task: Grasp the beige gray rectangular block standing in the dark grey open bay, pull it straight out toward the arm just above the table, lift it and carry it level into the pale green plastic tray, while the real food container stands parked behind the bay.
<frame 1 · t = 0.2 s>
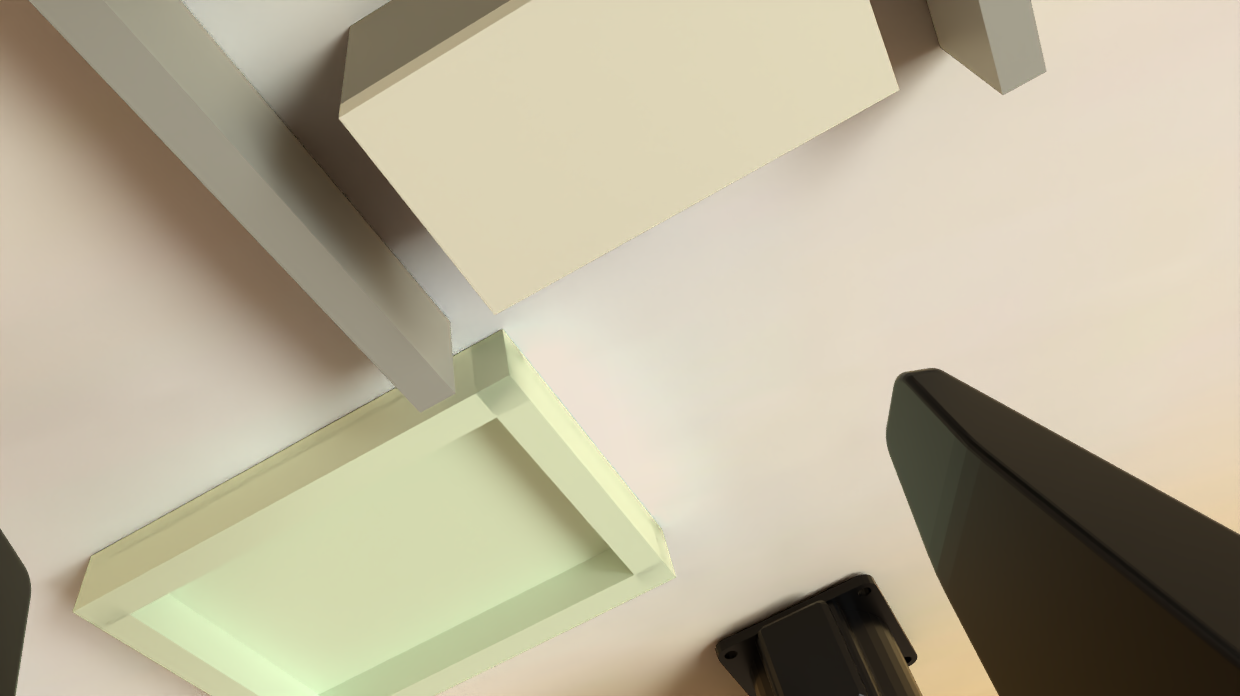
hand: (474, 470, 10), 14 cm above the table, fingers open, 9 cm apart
bay: (590, 18, 21), on the table
beige gray rectangular block: (588, 15, 21), on the table
tray: (395, 542, 29), on the table
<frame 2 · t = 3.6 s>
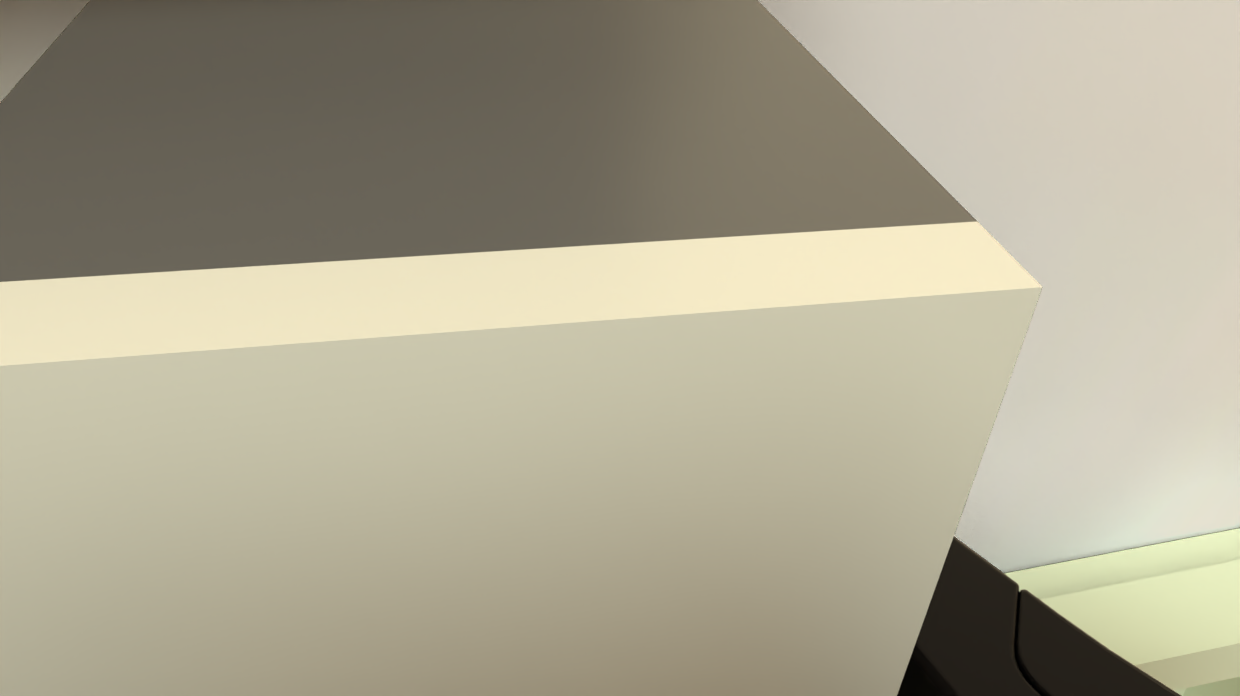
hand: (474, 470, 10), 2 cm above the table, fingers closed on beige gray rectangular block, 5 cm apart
beige gray rectangular block: (468, 403, 10), point 1 cm above the table, touching gripper
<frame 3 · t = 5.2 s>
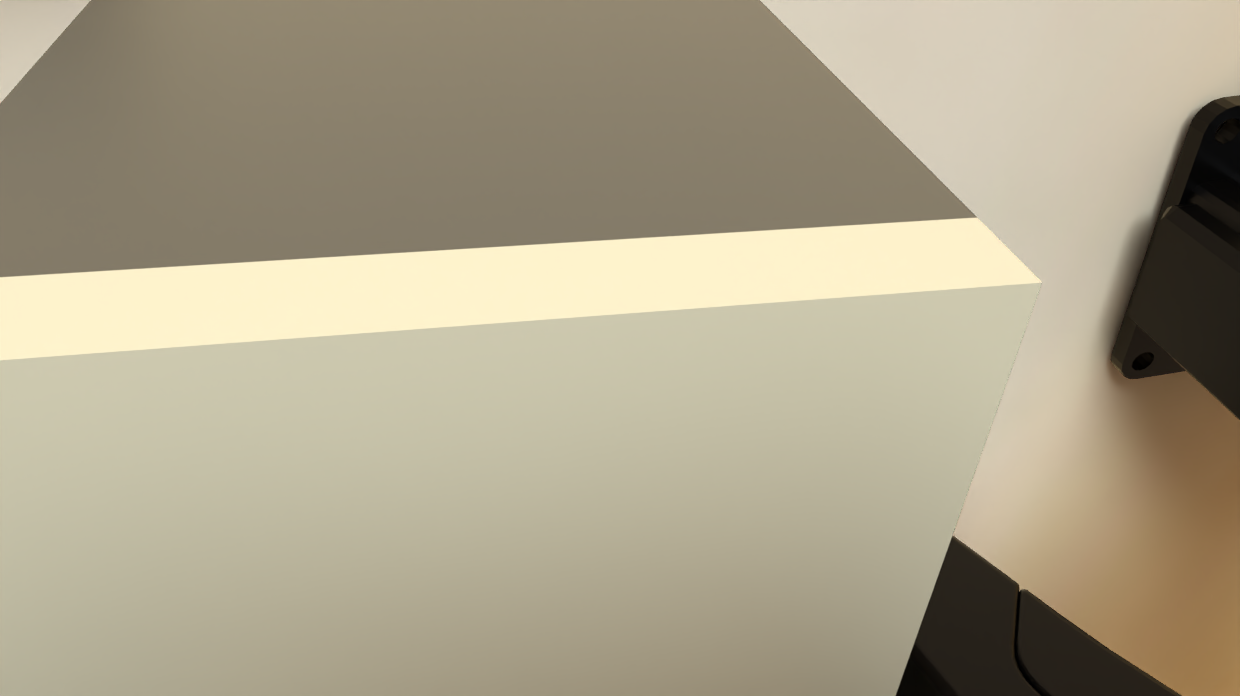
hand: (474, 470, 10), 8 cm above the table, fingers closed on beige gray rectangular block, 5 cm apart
beige gray rectangular block: (469, 401, 10), point 7 cm above the table, touching gripper
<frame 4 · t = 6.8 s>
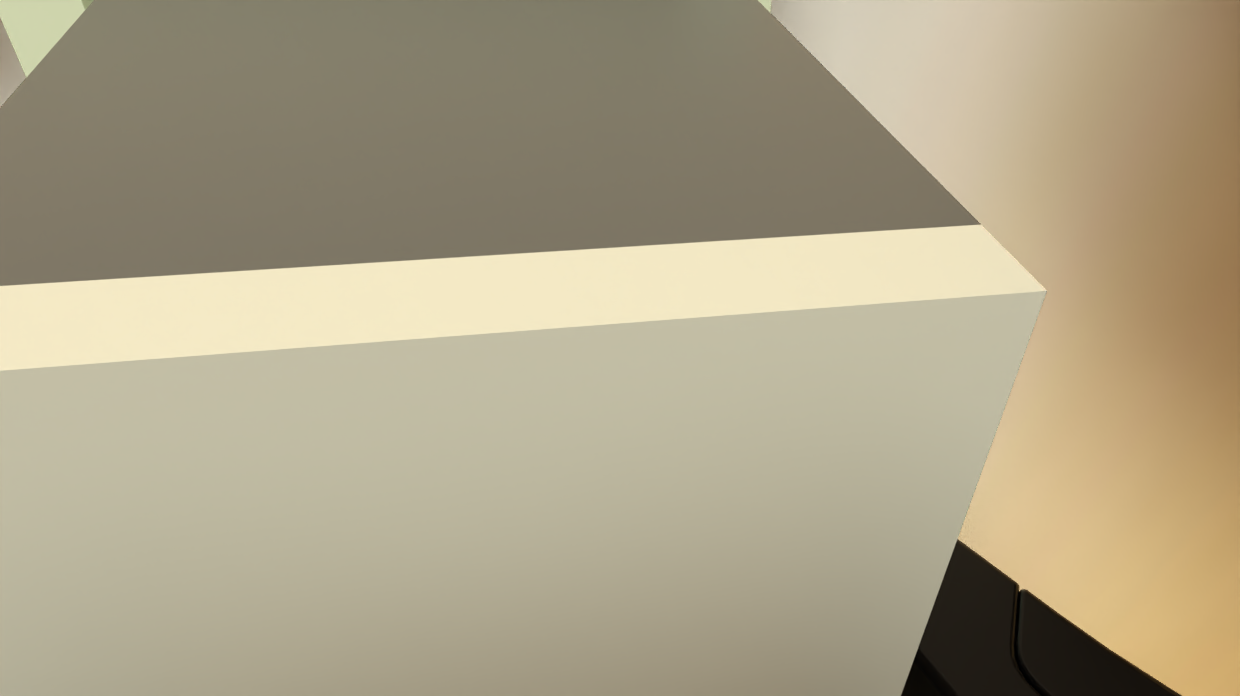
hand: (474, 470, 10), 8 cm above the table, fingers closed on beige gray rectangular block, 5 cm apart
beige gray rectangular block: (469, 405, 10), point 7 cm above the table, touching gripper
tray: (440, 146, 16), on the table
when the fingers open (2 cm above the table, at t = 8.1 s): beige gray rectangular block stays where it is, resting on tray.
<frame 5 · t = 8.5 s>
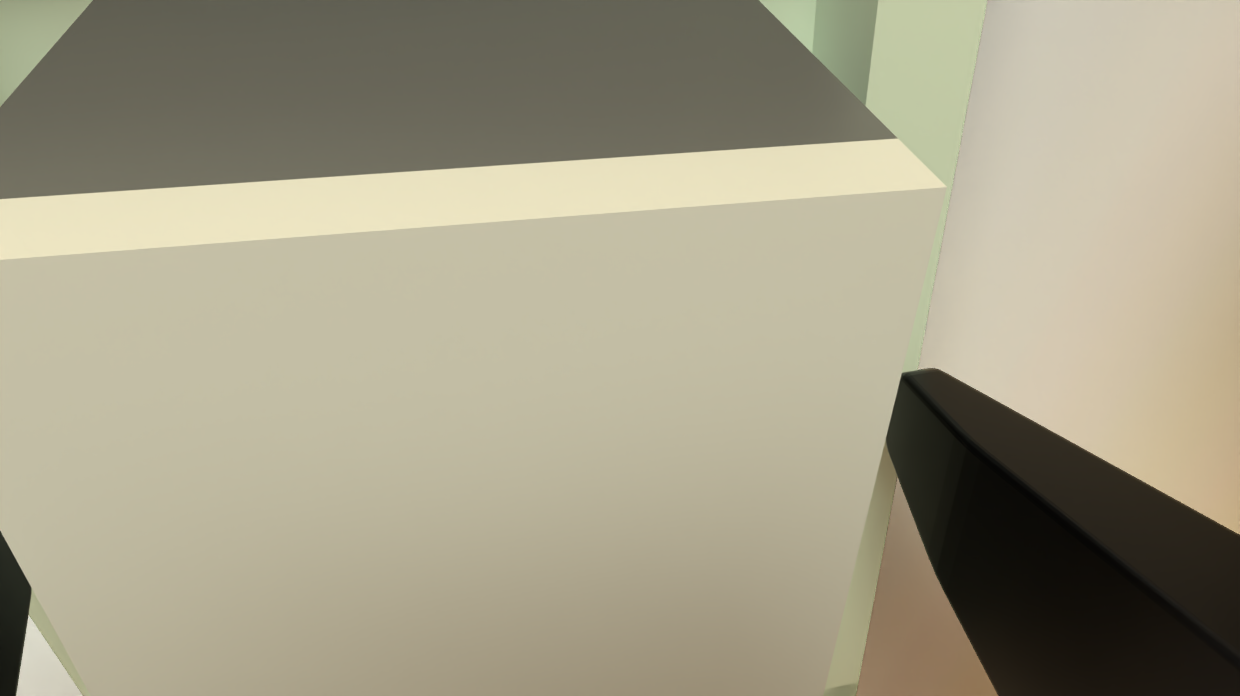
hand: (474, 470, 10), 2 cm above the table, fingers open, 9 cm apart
beige gray rectangular block: (468, 356, 11), point 1 cm above the table, touching tray
tray: (460, 330, 12), on the table
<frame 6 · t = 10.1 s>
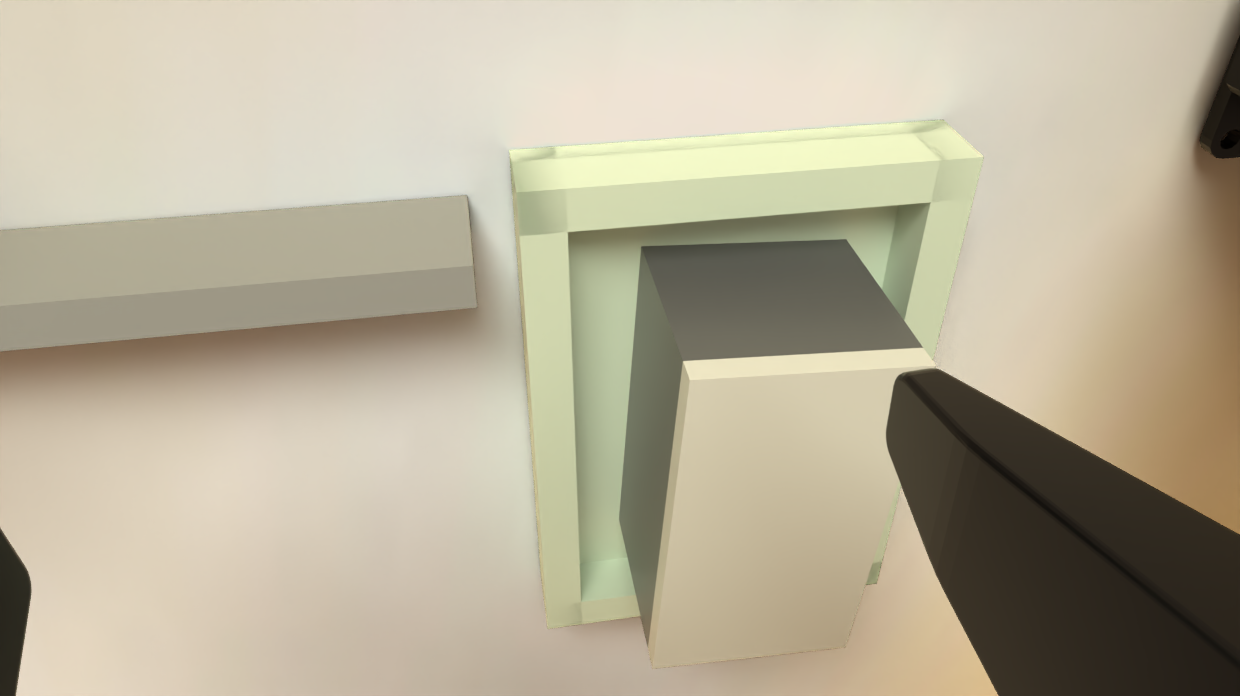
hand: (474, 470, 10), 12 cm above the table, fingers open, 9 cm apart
beige gray rectangular block: (722, 391, 25), point 1 cm above the table, touching tray
tray: (713, 379, 25), on the table
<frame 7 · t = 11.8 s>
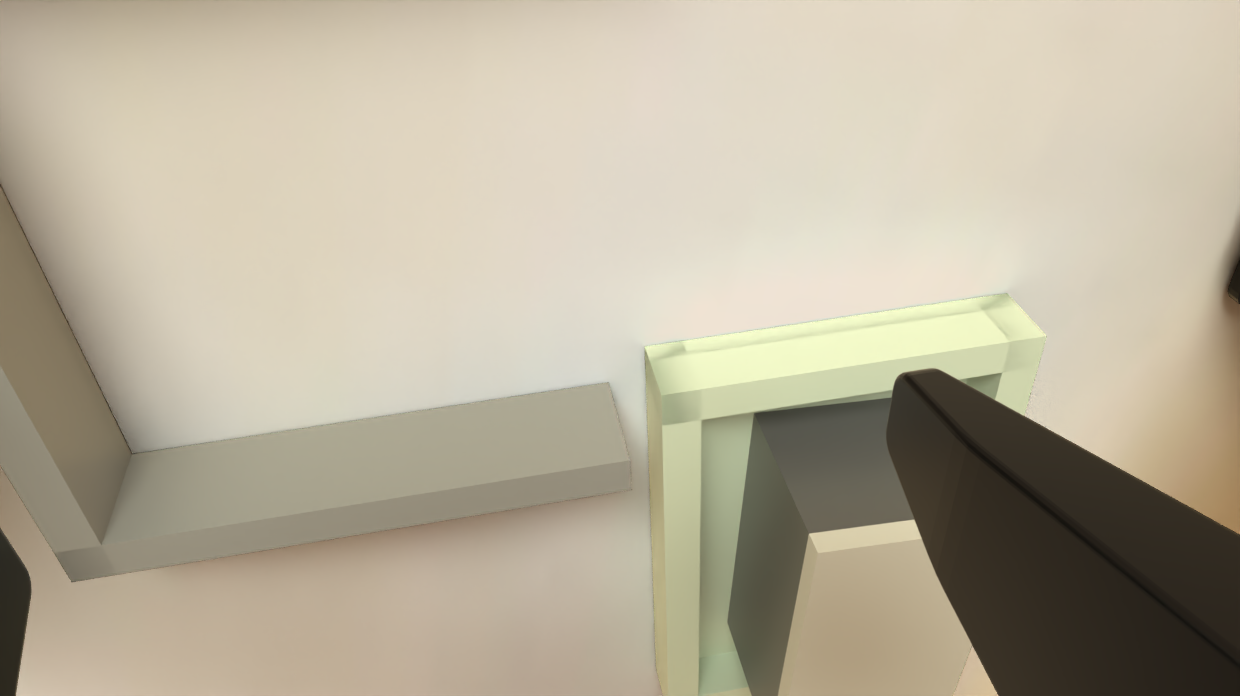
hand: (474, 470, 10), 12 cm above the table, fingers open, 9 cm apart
bay: (359, 161, 20), on the table
beige gray rectangular block: (818, 516, 29), point 1 cm above the table, touching tray
tray: (809, 503, 29), on the table
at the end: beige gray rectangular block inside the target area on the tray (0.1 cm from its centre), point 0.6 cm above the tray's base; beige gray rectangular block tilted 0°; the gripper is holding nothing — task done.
